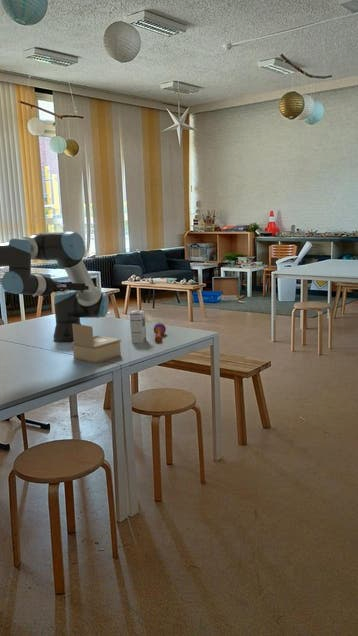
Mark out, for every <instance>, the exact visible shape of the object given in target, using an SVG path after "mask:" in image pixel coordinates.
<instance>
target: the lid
mask: <svg viewBox="0 0 358 636" xmlns="http://www.w3.org/2000/svg"><path fill="white" fill-rule="evenodd" d="M72 327H73V339H74V341H71V345H72V346H73V345H78V346H83V347H89V348H94V349H95V348H98V347H102V346H106V345H109V344H113V343H116V342H120V343H121V341H122V340H121V339H119V338H115V337H107V336H104V335H103V336H102V335H96V336H94V333H93V332H94V330H93V326H91V325H86V324H81V325H79V324H72Z"/></svg>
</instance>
